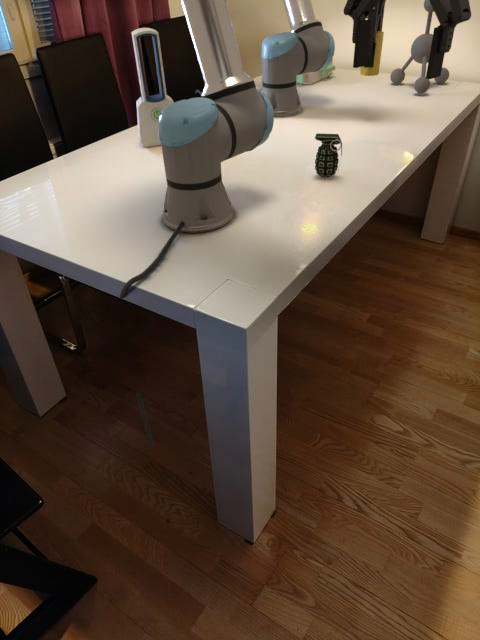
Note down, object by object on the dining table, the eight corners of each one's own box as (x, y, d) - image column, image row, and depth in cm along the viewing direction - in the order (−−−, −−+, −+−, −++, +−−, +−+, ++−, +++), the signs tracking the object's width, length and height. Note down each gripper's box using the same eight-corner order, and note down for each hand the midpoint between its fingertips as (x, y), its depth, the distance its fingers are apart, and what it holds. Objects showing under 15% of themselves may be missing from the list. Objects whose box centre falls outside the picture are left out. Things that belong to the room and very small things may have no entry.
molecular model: (468, 88, 182) (489, -8, 163) (419, 97, 176) (435, -2, 158) (427, 77, 199) (442, -12, 181) (381, 84, 193) (392, -7, 175)
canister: (379, 75, 147) (385, 33, 140) (361, 76, 147) (365, 34, 140) (377, 71, 151) (382, 30, 144) (359, 72, 152) (363, 31, 145)
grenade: (312, 179, 121) (313, 138, 114) (314, 171, 125) (316, 131, 119) (338, 181, 119) (342, 139, 113) (340, 172, 124) (344, 132, 117)
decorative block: (301, 54, 217) (341, 57, 207) (300, 70, 221) (340, 74, 211) (269, 65, 201) (312, 69, 191) (269, 82, 205) (311, 87, 195)
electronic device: (141, 147, 146) (122, 33, 128) (139, 140, 152) (119, 29, 134) (182, 142, 149) (168, 28, 130) (178, 135, 154) (164, 25, 136)
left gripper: (528, -118, 58) (482, 77, 71) (360, -99, 73) (347, 58, 86) (496, -119, 54) (454, 87, 67) (326, -99, 69) (319, 66, 82)
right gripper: (389, -27, 125) (377, 72, 140) (400, -32, 139) (388, 59, 153) (360, -26, 128) (351, 71, 142) (373, -31, 141) (364, 58, 156)
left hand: (394, 71), depth 77 cm, fingers open, 13 cm apart
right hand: (370, 64), depth 148 cm, fingers closed on canister, 5 cm apart
